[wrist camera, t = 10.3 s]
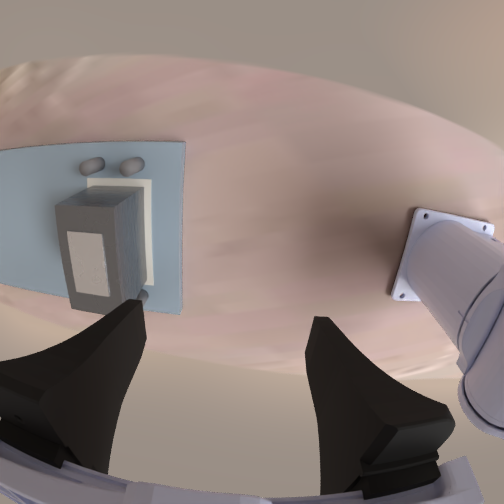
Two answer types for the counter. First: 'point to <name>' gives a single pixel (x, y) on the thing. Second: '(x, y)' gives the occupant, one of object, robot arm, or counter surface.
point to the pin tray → (74, 181)
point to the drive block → (102, 246)
